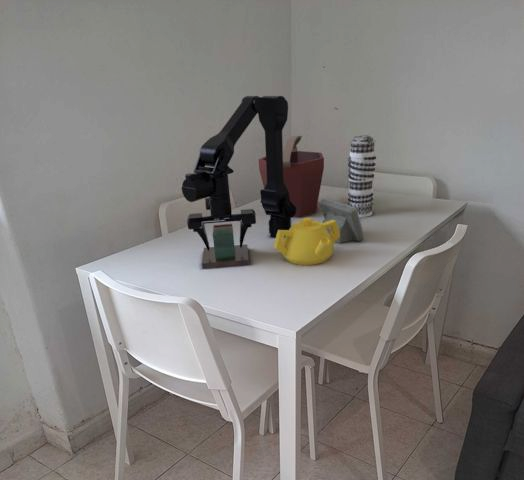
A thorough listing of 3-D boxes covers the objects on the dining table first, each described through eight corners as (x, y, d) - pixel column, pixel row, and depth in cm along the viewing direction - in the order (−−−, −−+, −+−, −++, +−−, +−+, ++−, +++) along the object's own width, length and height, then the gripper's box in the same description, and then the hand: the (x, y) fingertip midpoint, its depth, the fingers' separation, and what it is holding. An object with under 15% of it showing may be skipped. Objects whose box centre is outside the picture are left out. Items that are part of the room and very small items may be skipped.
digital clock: (366, 242, 147) (368, 206, 142) (339, 247, 145) (340, 211, 139) (340, 227, 160) (341, 194, 155) (315, 232, 158) (315, 198, 152)
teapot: (293, 278, 128) (292, 236, 122) (265, 256, 142) (263, 218, 136) (359, 262, 134) (361, 222, 128) (325, 243, 148) (326, 206, 143)
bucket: (281, 200, 193) (278, 131, 180) (335, 203, 184) (336, 131, 171) (253, 218, 175) (247, 142, 162) (311, 223, 166) (310, 143, 153)
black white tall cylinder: (373, 209, 175) (377, 133, 162) (373, 217, 167) (377, 138, 154) (347, 210, 176) (348, 134, 163) (346, 217, 169) (348, 139, 156)
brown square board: (247, 249, 148) (247, 244, 148) (249, 265, 137) (248, 259, 137) (204, 252, 148) (203, 247, 147) (202, 268, 137) (201, 263, 136)
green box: (235, 258, 138) (232, 232, 134) (215, 259, 138) (212, 234, 134) (234, 247, 146) (232, 223, 142) (215, 248, 146) (213, 224, 142)
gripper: (251, 183, 140) (255, 236, 148) (186, 188, 140) (193, 242, 148) (254, 193, 131) (257, 249, 139) (183, 198, 130) (191, 255, 138)
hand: (224, 248), depth 141 cm, fingers open, 9 cm apart
